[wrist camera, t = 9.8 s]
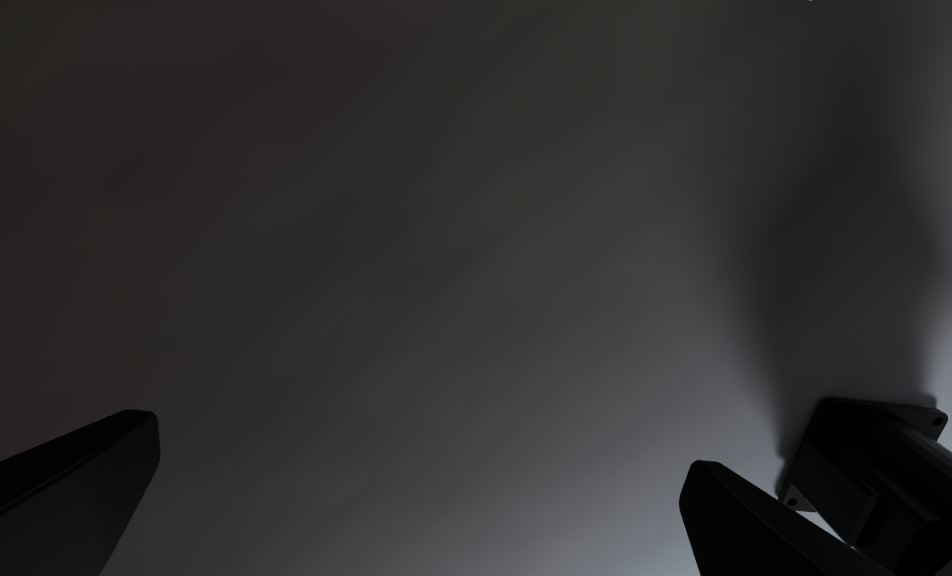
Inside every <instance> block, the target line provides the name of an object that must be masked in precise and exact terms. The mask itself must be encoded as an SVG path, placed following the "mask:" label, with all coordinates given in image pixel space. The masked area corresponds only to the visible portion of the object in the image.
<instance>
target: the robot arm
mask: <svg viewBox="0 0 952 576" xmlns="http://www.w3.org/2000/svg"><path fill="white" fill-rule="evenodd" d="M831 407H832V408H831ZM830 408H831V409H830ZM829 409H830V410H829ZM947 421H948V416H947V415H946V414H945V413H944V412H942V411H940V410H939V409H936V408H930V407H920V406H911V405H902V404H892V403H883V402H873V401H864V400H855V399H845V398H836V397H827V398H825V399H823V400H822V401H821V402H820V403H819V404H818V406H817V409H816V411H815V413H814V416H813V418H812V420H811V422H810V425H809V427H808V429H807V432H806V434H805V436H804V438H803V441H802V443H801V445H800V448H799V450H798V452H797V454H796V457H795V459H794V461H793V463H792V466H791V468H790V470H789V473H788V475H787V477H786V479H785V482H784V484H783V486H782V489H781V491H780V493H779V495H778V500H777V499H775V498H774V497H772V496H771V495H769V494H768V493H766V492H764V491H763V490H761V489H760V488H758V487H757V486H755V485H754V484H752V483H750V482H749V481H747V480H746V479H744V478H743V477H741V476H740V475H738V474H736V473H735V472H733V471H732V470H730V469H729V468H727V467H726V466H724V465H722V464H721V463H719V462H715V461H704V460H697V461H694V462H693V463H692V464H691V466H690V468H689V471H688V474H687V477H686V480H685V483H684V485H683V488H682V491H681V494H680V498H679V508H680V513H681V516H682V519H683V522H684V525H685V528H686V532H687V535H688V538H689V541H690V544H691V547H692V550H693V554H694V557H695V560H696V563H697V566H698V569H699V572H700V575H701V576H952V452H951V451H949V450H948V449H946V448H945V447H943V446H942V445H940V444H939V443H938V442H937V440H938V438H939V436H940V434H941V433H942V431H943V429H944V427H945V425H946V423H947ZM159 461H160V441H159V428H158V419H157V416H156V414H155V413H153V412H152V411H143V410H132V409H127V410H123V411H121V412H118V413H116V414H113V415H111V416H108V417H106V418H104V419H101V420H99V421H96V422H94V423H92V424H89V425H87V426H84V427H82V428H79V429H77V430H75V431H72V432H70V433H67V434H65V435H63V436H60V437H58V438H55V439H53V440H50V441H48V442H46V443H43V444H41V445H38V446H36V447H34V448H31V449H29V450H26V451H24V452H22V453H19V454H17V455H14V456H12V457H9V458H7V459H5V460H2V461H0V576H99V575H100V573H101V571H102V570H103V568H104V567H105V565H106V563H107V562H108V560H109V558H110V557H111V555H112V553H113V551H114V549H115V548H116V546H117V544H118V542H119V540H120V538H121V536H122V535H123V533H124V531H125V529H126V527H127V525H128V523H129V521H130V519H131V518H132V516H133V514H134V512H135V510H136V508H137V506H138V504H139V502H140V501H141V499H142V497H143V495H144V493H145V491H146V489H147V487H148V485H149V484H150V482H151V480H152V478H153V476H154V474H155V472H156V470H157V468H158V465H159ZM795 511H806V512H817V513H818V514H819V515H820V516H821V517H822V518H823V520H824V521H825V522H826V523H827V524H828V525H829V526H830V527H831V528H832V530H833V531H834V532H835V533H836V534H837V535H838V536H839V537H840V538H841V539H842V541H843V542H842V541H841V540H839V539H837V538H836V537H834V536H833V535H831V534H830V533H828V532H827V531H825V530H823V529H822V528H820V527H819V526H817V525H816V524H814V523H813V522H811V521H809V520H808V519H806V518H805V517H803V516H802V515H800V514H799V513H797V512H795ZM851 547H853V548H854V549H855V550H854V549H853V548H851Z"/></svg>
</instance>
